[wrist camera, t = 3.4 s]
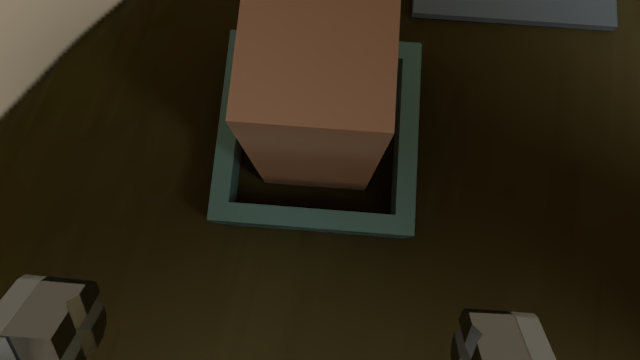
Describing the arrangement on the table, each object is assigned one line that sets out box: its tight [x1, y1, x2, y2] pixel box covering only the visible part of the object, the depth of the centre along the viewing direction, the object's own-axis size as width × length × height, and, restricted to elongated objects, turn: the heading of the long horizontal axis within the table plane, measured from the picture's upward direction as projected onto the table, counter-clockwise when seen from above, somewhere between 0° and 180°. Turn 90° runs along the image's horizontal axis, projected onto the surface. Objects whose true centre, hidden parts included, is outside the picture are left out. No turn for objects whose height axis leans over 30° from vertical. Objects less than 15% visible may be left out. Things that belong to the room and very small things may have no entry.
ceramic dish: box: [207, 30, 422, 239], centre depth 25 cm, size 11×11×3 cm
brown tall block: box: [226, 0, 401, 191], centre depth 21 cm, size 6×6×11 cm
